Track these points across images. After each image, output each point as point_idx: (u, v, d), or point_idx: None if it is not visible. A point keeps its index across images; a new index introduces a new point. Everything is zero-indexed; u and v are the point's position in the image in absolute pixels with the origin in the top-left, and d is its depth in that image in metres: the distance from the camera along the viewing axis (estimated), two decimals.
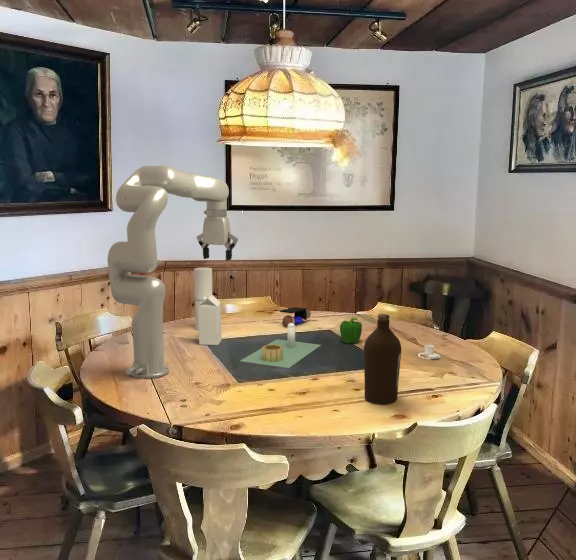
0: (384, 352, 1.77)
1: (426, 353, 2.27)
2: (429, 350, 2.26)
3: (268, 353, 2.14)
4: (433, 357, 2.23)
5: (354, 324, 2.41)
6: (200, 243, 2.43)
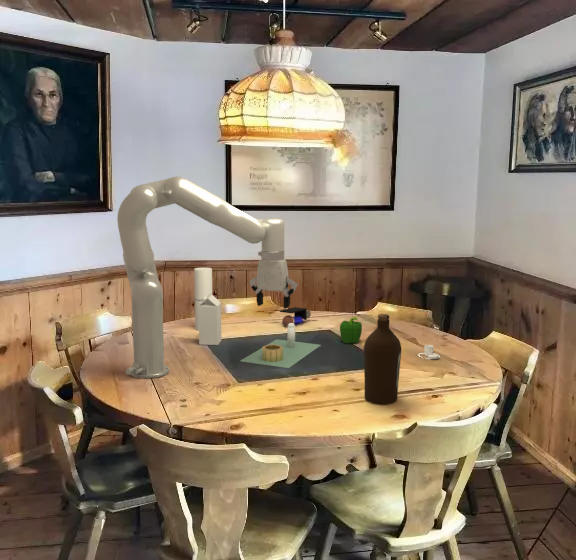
0: (384, 352, 1.77)
1: (426, 353, 2.27)
2: (428, 350, 2.26)
3: (268, 353, 2.14)
4: (433, 357, 2.23)
5: (354, 324, 2.41)
6: (253, 288, 2.16)
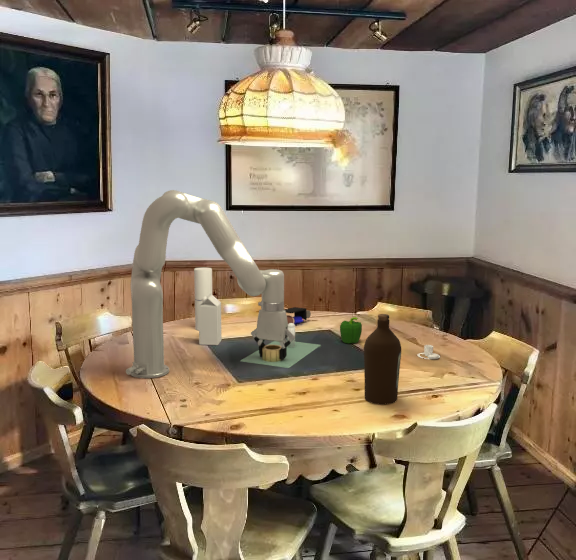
0: (384, 352, 1.77)
1: (426, 353, 2.27)
2: (428, 351, 2.26)
3: (268, 353, 2.14)
4: (433, 357, 2.23)
5: (354, 324, 2.41)
6: (256, 339, 2.19)
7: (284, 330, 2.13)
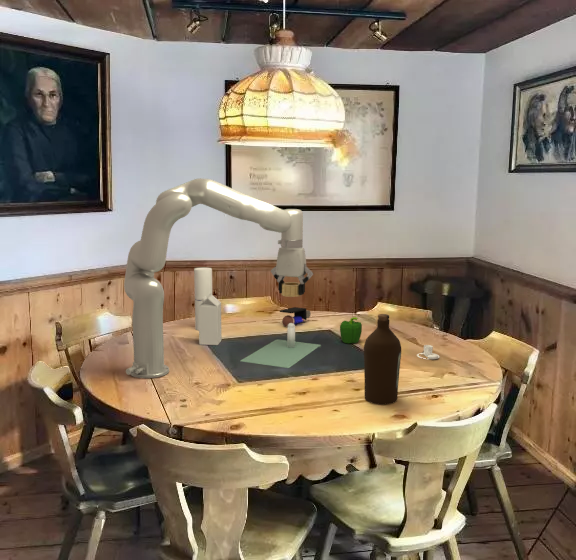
0: (384, 352, 1.77)
1: (425, 353, 2.27)
2: (428, 351, 2.26)
3: (287, 288, 2.25)
4: (432, 357, 2.23)
5: (354, 324, 2.41)
6: (275, 277, 2.30)
7: (303, 266, 2.24)
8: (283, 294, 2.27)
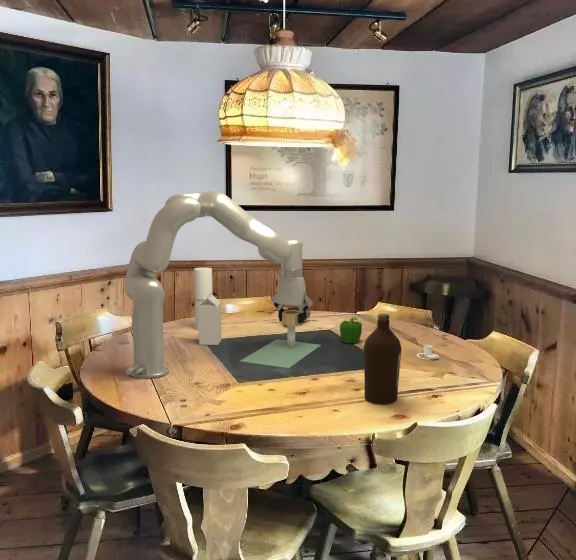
0: (384, 352, 1.77)
1: (425, 353, 2.26)
2: (427, 351, 2.26)
3: (287, 317, 2.27)
4: (432, 357, 2.23)
5: (354, 324, 2.41)
6: (276, 305, 2.31)
7: (303, 295, 2.26)
8: (283, 323, 2.29)
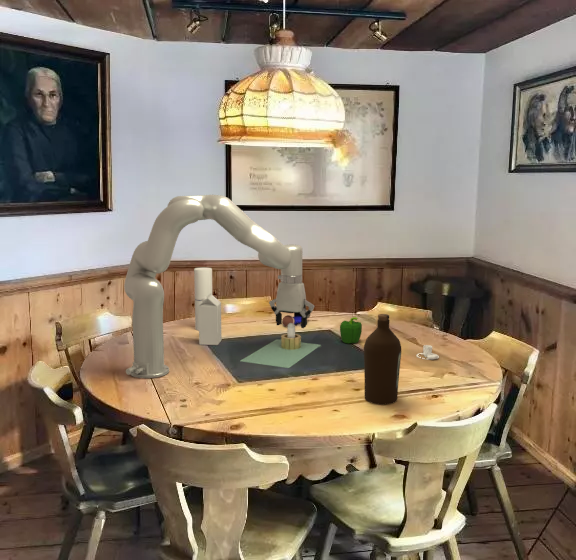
0: (384, 352, 1.77)
1: (425, 353, 2.26)
2: (427, 351, 2.26)
3: (286, 341, 2.29)
4: (431, 357, 2.22)
5: (354, 324, 2.41)
6: (273, 309, 2.32)
7: (302, 301, 2.26)
8: (283, 346, 2.31)
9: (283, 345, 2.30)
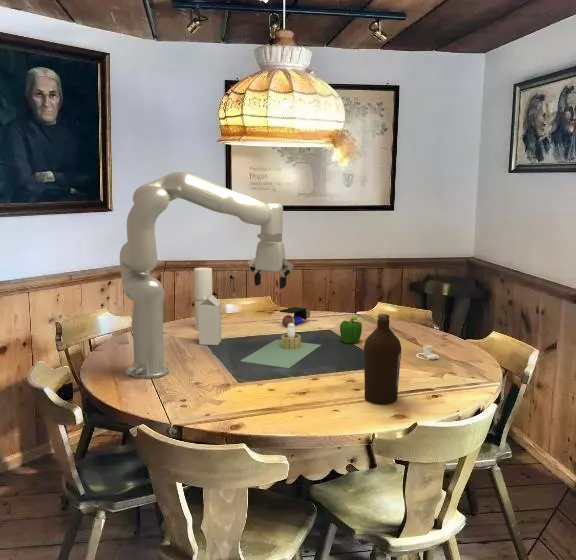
0: (384, 352, 1.77)
1: (424, 353, 2.26)
2: (427, 351, 2.25)
3: (286, 341, 2.29)
4: (431, 357, 2.22)
5: (354, 324, 2.41)
6: (252, 269, 2.27)
7: (281, 260, 2.21)
8: (283, 346, 2.31)
9: (283, 345, 2.30)
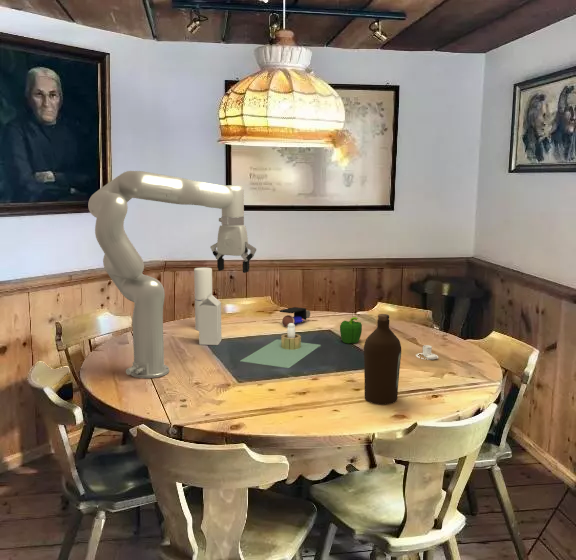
0: (384, 352, 1.77)
1: (424, 353, 2.26)
2: (427, 351, 2.25)
3: (286, 341, 2.29)
4: (431, 357, 2.22)
5: (354, 324, 2.41)
6: (214, 253, 2.22)
7: (244, 244, 2.16)
8: (283, 346, 2.31)
9: (283, 345, 2.30)
